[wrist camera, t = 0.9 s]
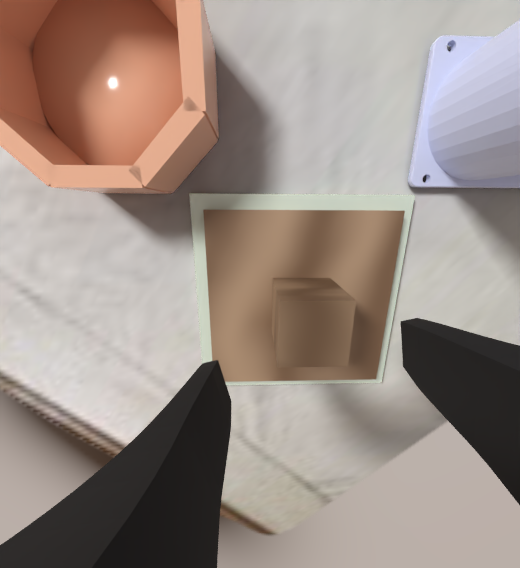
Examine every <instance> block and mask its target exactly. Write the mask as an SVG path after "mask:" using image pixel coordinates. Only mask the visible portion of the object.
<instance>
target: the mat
mask: <svg viewBox="0 0 520 568" xmlns="http://www.w3.org/2000/svg"><path fill="white" fill-rule="evenodd" d="M189 197H190V210H191V224H192V237H193V251H194V264H195V277H196V291H197V304H198V318H199V331H200V345H201V358H202V364H203V363H206V362H210V361H212V347H211V330H210V314H209V297H208V280H207V263H206V247H205V230H204V213H203V210H388V211H405V213H404V219H403V225H402V231H401V236H400V242H399V248H398V254H397V260H396V266H395V272H394V278H393V283H392V289H391V295H390V301H389V307H388V313H387V319H386V324H385V330H384V336H383V342H382V348H381V354H380V360H379V365H378V371H377V377H376V379H372V380H307V381H243V382H225V383H226V385H282V384H345V383H382V377H383V372H384V366H385V360H386V355H387V349H388V344H389V338H390V333H391V327H392V321H393V316H394V310H395V305H396V299H397V293H398V288H399V282H400V277H401V271H402V265H403V260H404V254H405V249H406V243H407V238H408V232H409V226H410V221H411V215H412V210H413V204H414V198H415V195H342V194H206V193H189Z"/></svg>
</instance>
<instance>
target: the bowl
mask: <svg viewBox="0 0 520 568" xmlns="http://www.w3.org/2000/svg"><path fill="white" fill-rule="evenodd" d="M217 139H219V129H218V103H217V78H216V53H215V49H214V44H213V40H212V36H211V32H210V28H209V23H208V19H207V15H206V11H205V6H204V2H203V0H0V146H1V147H3V148H4V149H5V150H6V151H7V152H8V153H10V154H11V155H12V156H13V157H14V158H16V159H17V160H18V161H19V162H20V163H21V164H23V165H24V166H25V167H26V168H27V169H28V170H30V171H31V172H32V173H33V174H34V175H36V176H37V177H38V178H39V179H40V180H41V181H43V182H44V183H45V184H46V185H47V186H51V187H53V188H62V189H71V190H80V191H89V192H98V193H142V194H171V192H172V193H174V192H175V190H176V189H177V188H178V187H179V186H180V185H181V184H182V182H183V181H184V180H185V179H186V178H187V177H188V175H189V174H190V173H191V172H192V171H193V170H194V168H195V167H196V166H197V165H198V164H199V163H200V161H201V160H202V159H203V158H204V157H205V156H206V155H207V153H208V152H209V151H210V150H211V149H212V148H213V146H214V145H215V144H216V143H217V142H218V140H217Z"/></svg>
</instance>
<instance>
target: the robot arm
mask: <svg viewBox="0 0 520 568" xmlns="http://www.w3.org/2000/svg"><path fill="white" fill-rule="evenodd" d="M447 45H449V46H450V47H451V51H450V52H449V51H448V50H447ZM423 176H426V182H425V183H424V182H423V180H422V179H423ZM408 183H409V185H410V186H411V187H432V188H520V19H519V20H518V21H517V22H515V23H514V24H512V25H511V26H510V27H508V28H507V29H505V30H504V31H503V32H501V33H500V34H498V35H497V36H496V37H484V36H448V35H444V36H440V37H439V38H438V39H436V40H435V41H434V42H433V44H432V45H431V48H430V53H429V59H428V65H427V71H426V77H425V82H424V88H423V94H422V100H421V106H420V112H419V118H418V124H417V130H416V136H415V142H414V148H413V154H412V160H411V166H410V172H409V178H408ZM401 334H402V353H403V367H404V368H405V370H406V371H407V373H408V374H409V375H410V377H411V378H412V380H413V381H414V382H415V384H416V385H417V386H418V388H419V389H420V390H421V392H422V393H423V394H424V395H425V396H426V397H427V398H428V399H429V400H430V401H431V403H432V404H433V405H434V406H435V407H436V408H437V409H438V410H439V411H440V412H441V413H442V415H443V416H444V417H445V418H446V419H447V420H448V421H449V422H450V423H451V424H452V425H453V426H454V427H455V429H456V430H457V431H458V432H459V433H460V434H461V435H462V436H463V437H464V438H465V439H466V440H467V441H468V443H469V444H470V445H471V446H472V447H473V448H474V449H475V450H476V451H477V453H478V454H479V455H480V456H481V457H482V458H483V459H484V461H485V462H486V463H487V464H488V465H489V467H490V468H491V469H492V470H493V472H494V473H495V474H496V475H497V477H498V478H499V479H500V480H501V482H502V483H503V484H504V486H505V487H506V488H507V489H508V491H509V492H510V493H511V494H512V496H513V497H514V498H515V500H516V501H517V502H518V503H519V505H520V346H519V345H515V344H511V343H506V342H503V341H499V340H495V339H492V338H488V337H484V336H481V335H477V334H474V333H470V332H467V331H463V330H460V329H456V328H453V327H450V326H446V325H443V324H439V323H435V322H432V321H428V320H424V319H419V318H415V319H410V320H406V321H401ZM230 430H231V399H230V396H229V393H228V390H227V386H226V383H225V380H224V377H223V374H222V371H221V367H220V364H219V361H218V360H215V361H210V362H206V363H203V364H202V365H201V366H200V367H199V368H198V369H197V370H196V372H195V373H194V374H193V375H192V376H191V378H190V379H189V380H188V381H187V382H186V384H185V385H184V386H183V387H182V388H181V390H180V391H179V392H178V393H177V394H176V395H175V397H174V398H173V399H172V400H171V401H170V402H169V403H168V404H167V406H166V407H165V408H164V409H163V410H162V411H161V412H160V413H159V414H158V415H157V416H156V417H155V419H154V420H153V421H152V422H151V423H150V424H149V425H148V426H147V427H146V428H145V429H144V430H143V431H142V432H141V433H140V434H139V435H138V436H137V437H136V438H135V439H134V440H133V441H132V442H131V443H129V444H128V445H127V446H126V447H125V448H124V449H123V450H122V451H121V452H120V453H119V454H118V455H116V456H115V457H114V458H113V459H112V460H111V461H110V462H108V463H107V464H106V465H105V466H104V467H102V468H101V469H100V470H99V471H98V472H96V473H95V474H94V475H93V476H92V477H91V478H89V479H88V480H87V481H86V482H85V483H83V484H82V485H81V486H80V487H78V488H77V489H76V490H75V491H74V492H72V493H71V494H70V495H68V496H67V497H66V498H65V499H63V500H62V501H61V502H59V503H58V504H57V505H55V506H54V507H53V508H51V509H50V510H49V511H47V512H46V513H45V514H43V515H42V516H41V517H39V518H38V519H37V520H35V521H34V522H33V523H31V524H30V525H29V526H27V527H26V528H24V529H23V530H21V531H20V532H19V533H17V534H16V535H15V536H13V537H12V538H10V539H9V540H7V541H6V542H4V543H3V544H1V545H0V568H217V553H218V535H219V517H220V506H221V496H222V489H223V482H224V474H225V467H226V460H227V453H228V445H229V438H230Z"/></svg>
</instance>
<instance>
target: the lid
mask: <svg viewBox="0 0 520 568" xmlns="http://www.w3.org/2000/svg"><path fill="white" fill-rule="evenodd" d="M203 213H204V230H205V247H206V263H207V280H208V297H209V314H210V330H211V347H212V361H215V360H218V361H219V364H220V367H221V371H222V374H223V377H224V380H225V382H243V381H307V380H372V379H376V377H377V371H378V365H379V360H380V354H381V348H382V342H383V336H384V330H385V324H386V319H387V313H388V307H389V301H390V295H391V289H392V283H393V278H394V272H395V266H396V260H397V254H398V248H399V242H400V236H401V231H402V225H403V219H404V213H405V211H388V210H203Z"/></svg>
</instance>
